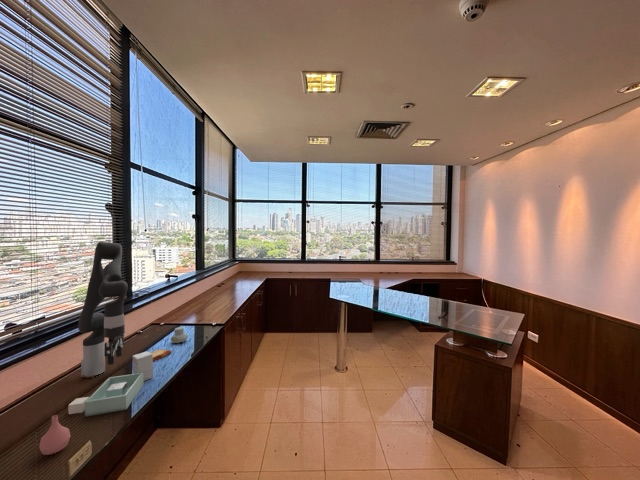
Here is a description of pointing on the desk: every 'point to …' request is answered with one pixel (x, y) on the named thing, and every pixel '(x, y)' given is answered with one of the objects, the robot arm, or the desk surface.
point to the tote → (116, 403)
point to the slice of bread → (160, 354)
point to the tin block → (116, 389)
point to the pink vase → (54, 438)
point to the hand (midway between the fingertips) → (115, 360)
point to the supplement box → (143, 364)
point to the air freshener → (179, 335)
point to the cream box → (77, 405)
